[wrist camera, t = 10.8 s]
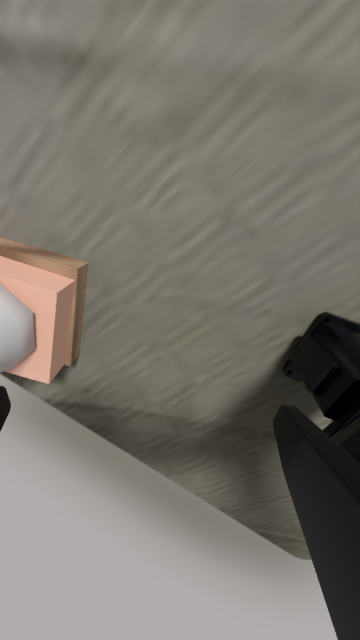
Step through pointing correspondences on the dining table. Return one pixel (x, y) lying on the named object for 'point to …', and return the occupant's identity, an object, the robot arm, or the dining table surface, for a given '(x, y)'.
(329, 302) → the dining table surface
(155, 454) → the dining table surface
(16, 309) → the flask
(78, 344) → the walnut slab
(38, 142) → the dining table surface
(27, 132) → the dining table surface
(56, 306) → the terracotta slab
